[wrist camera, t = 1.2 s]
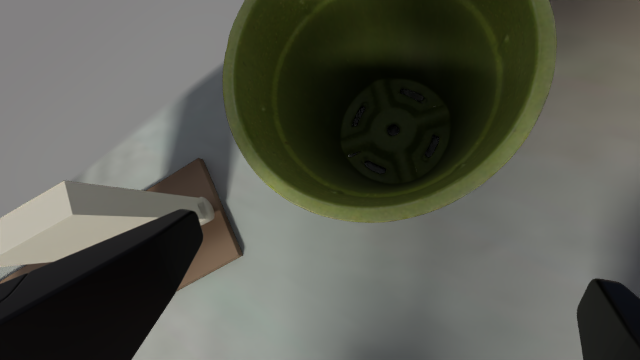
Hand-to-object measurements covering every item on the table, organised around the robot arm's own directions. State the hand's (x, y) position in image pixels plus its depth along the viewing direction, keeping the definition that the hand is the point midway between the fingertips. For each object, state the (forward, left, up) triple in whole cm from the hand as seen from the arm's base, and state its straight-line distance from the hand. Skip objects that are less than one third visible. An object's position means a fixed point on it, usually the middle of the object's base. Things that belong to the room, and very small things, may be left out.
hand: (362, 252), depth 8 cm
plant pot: (+5, +4, -15) cm, 16 cm away
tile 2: (-10, +13, -13) cm, 21 cm away
